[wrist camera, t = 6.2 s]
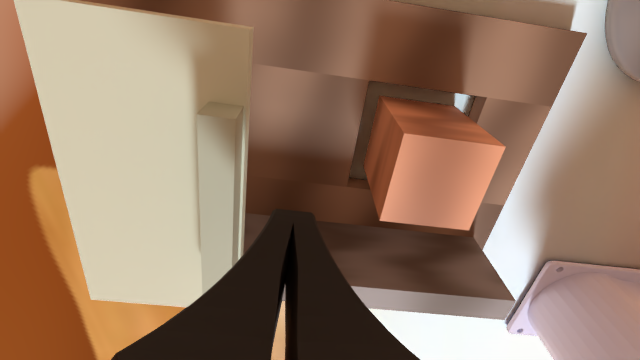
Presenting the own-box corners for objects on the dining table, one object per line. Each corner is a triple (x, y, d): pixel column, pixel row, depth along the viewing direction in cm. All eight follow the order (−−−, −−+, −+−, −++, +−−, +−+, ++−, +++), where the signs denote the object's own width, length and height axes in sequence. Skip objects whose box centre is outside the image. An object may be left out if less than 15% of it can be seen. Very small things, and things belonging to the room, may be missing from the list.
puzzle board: (571, 31, 18) (695, 49, 12) (470, 249, 25) (517, 327, 19) (49, -56, 16) (-107, -86, 10) (102, 211, 23) (30, 286, 17)
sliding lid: (253, 27, 11) (241, 34, 9) (241, 298, 17) (232, 336, 16) (31, -8, 11) (-31, -8, 9) (100, 286, 17) (72, 324, 15)
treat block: (454, 105, 20) (505, 146, 14) (431, 173, 22) (468, 230, 17) (379, 95, 19) (404, 133, 14) (363, 165, 21) (379, 220, 16)
